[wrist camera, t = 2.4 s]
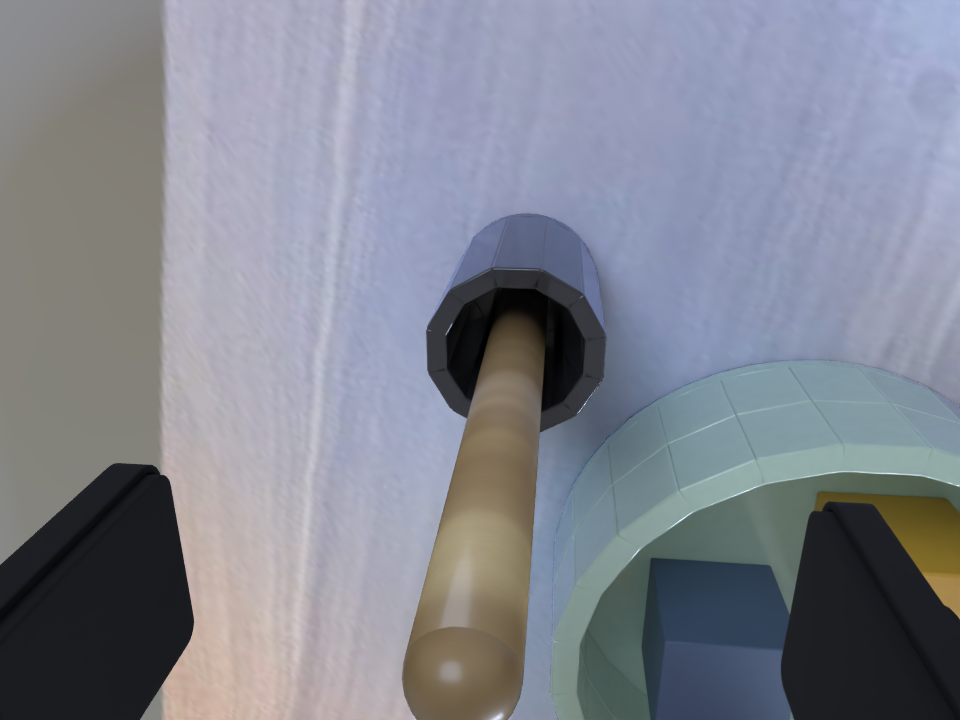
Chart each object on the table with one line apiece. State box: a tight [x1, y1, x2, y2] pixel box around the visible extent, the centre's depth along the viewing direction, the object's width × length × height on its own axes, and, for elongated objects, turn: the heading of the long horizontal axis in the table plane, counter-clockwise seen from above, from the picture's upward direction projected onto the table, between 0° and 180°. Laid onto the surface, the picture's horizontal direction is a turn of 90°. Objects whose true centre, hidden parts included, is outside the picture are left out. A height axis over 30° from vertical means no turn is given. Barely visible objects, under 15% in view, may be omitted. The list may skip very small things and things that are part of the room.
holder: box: [426, 214, 606, 432], centre depth 20 cm, size 4×4×6 cm
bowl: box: [550, 360, 960, 720], centre depth 24 cm, size 16×16×6 cm
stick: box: [402, 288, 548, 720], centre depth 15 cm, size 1×1×16 cm
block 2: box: [814, 492, 960, 619], centre depth 23 cm, size 4×4×4 cm
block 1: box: [641, 558, 791, 720], centre depth 25 cm, size 4×4×4 cm
